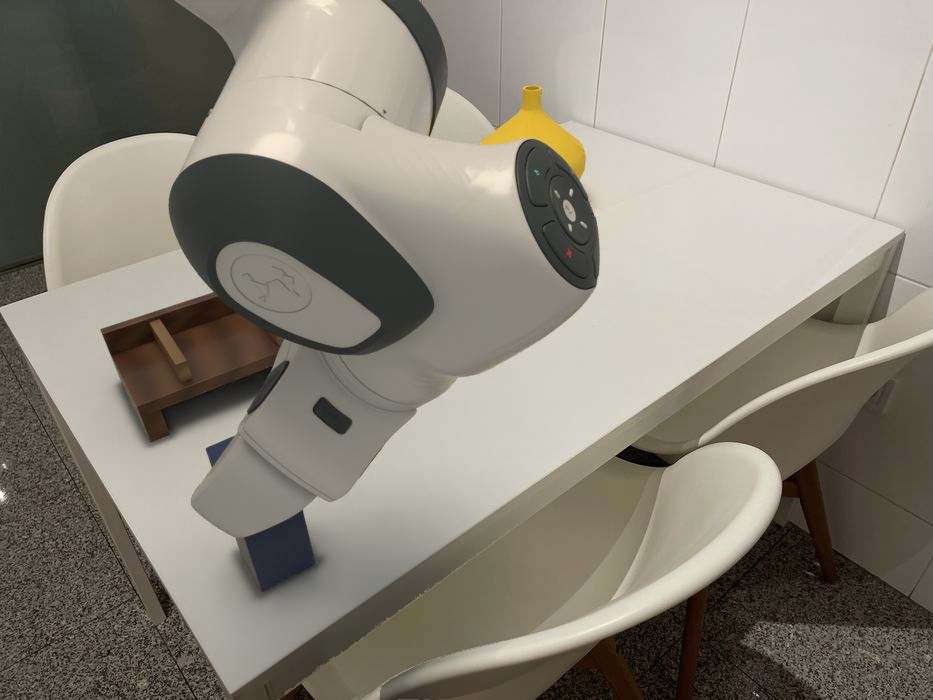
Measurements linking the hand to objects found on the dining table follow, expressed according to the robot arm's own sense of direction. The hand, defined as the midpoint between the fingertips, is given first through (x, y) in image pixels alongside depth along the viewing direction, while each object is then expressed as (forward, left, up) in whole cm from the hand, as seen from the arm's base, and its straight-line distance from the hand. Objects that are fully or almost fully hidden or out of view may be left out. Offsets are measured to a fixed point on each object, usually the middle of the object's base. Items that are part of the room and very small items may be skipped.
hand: (260, 422), depth 50 cm
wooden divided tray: (+5, +31, -18) cm, 36 cm away
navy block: (-1, +3, -18) cm, 18 cm away
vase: (+64, +47, -18) cm, 82 cm away
